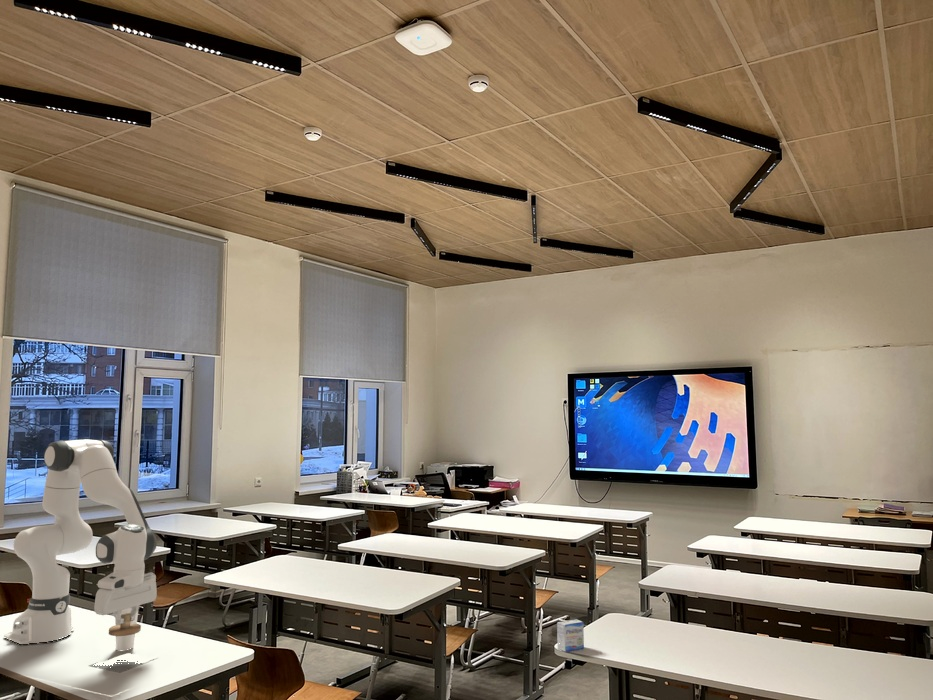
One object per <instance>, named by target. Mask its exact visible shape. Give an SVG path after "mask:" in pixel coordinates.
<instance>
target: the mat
mask: <svg viewBox="0 0 933 700" xmlns="http://www.w3.org/2000/svg"><path fill="white" fill-rule="evenodd" d="M117 661H120V660H117ZM121 661H123V660H121ZM124 661H126V660H124ZM137 662H138V661H137ZM96 663H97V662H96ZM96 663H92V664H89V665H88V667H92V668H97V667H99V668H97V669H102V670H105V669H106V670H105V671H111V672H115V673H123V672H126V671H128V670H131V669H135V668H136V667H139V666H142V665H143V664H142V663H140V664H138V663H136V664H135V662H128V661H127V662H116V663H117V664H115V663H114V664H113V666H112V665H110V666H109V665H108V666H106V665H105V666H103V665H102V666H100V665H99V666H98V665H97V666H95V665H94V664H96ZM118 663H120V664H118ZM121 663H122V664H121ZM128 663H129V664H128ZM103 664H104V663H103ZM93 665H94V666H93ZM110 667H111V668H110Z"/></svg>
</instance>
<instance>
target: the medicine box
mask: <svg viewBox="0 0 933 700" xmlns="http://www.w3.org/2000/svg"><path fill="white" fill-rule="evenodd" d="M584 627H585V626H584V621H582V620H579V619H577V618H576V619H575V618H574V619H570V620H564V621H558V622H556V629H557V630H556V632H557V633H556V636H557V649H558V650H561V651H562V652H565V653H567V652H573V651H577V650H584V648H585V637H584V635H585V634H584ZM559 643H560V644H559Z"/></svg>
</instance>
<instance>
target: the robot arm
mask: <svg viewBox="0 0 933 700" xmlns="http://www.w3.org/2000/svg"><path fill="white" fill-rule="evenodd" d="M114 457H115V449H114V447H113V445H112V443H111V442H110V441H107V440H103V439H87V438H86V439H84V438H83V439H82V438H81V439H80V438H79V439H72V440H69V439H68V440H63V439H62V440H56V441H53V442H50V443H49V444H48V446H47V447H46V448H45V451H44V453H43V462H44V465H45V467H46V468H47V469H48V471H47V474H46V478H45V483H44V490H43V497H42V502H41V503H42V504H41V506H42V508H43V510H44V511H45V512H46V513H48V514H49V515H52V516H54V523H53V524H48V525H47V524H46V525H38V526H33V527H29V528H27V529H24V530H21V531H19V532H18V534H17V535H16V536H15V538H14V540H13V550H14V553H15V554H16V556H17V557H18V558H20V559H21V560H23V561H24V562H26V564H27V565H28V567H29V569H30V571H31V575H32V595H31V598H27V602H26V603H28V605H27V609H26V610H24V611H23V612H22V613H21V614H20V615H18V616H17V617H16V618H15V619H14V620H13V625H12V631H10V632H8V633H6V634H4V635H3V638H4V637H6V638H8V639H11V640H13V641H15V642H17V643H19V644H28V645H30V644H29V643H37V644H40V643H39V642H47V643H49V642H48V641H52V640H57V639H59V638H62V637H65V636H67V635H69V634H70V633H71V634H72V632H71V630H72V629H73V628H74V626H73V627H72V609H71V607H70V606H69V605H70V603H71V602H70V601H71V593H69V592H70V577H71V573H70V570H68V568H66V567H64V566H62V565H59V564H58V562H57V560H56V559H57V556H61V555H67V554H74V553H76V552H80V551H81V550H84V549H87V548H88V547H89V546H90V545H91V542H92V540H93V536H94V535H93V529H92V528H91V526H90V525H89V524H88V523H87V522H85V521H84V519H83V518H82V516H81V515H80V511H79V510H80V509H79V501H80V491H81V487H82V490H83V493H84V495H85V496H86V497H87V498H88V499H89V500H91V501H93V502H95V503H98V504H102V505H103V504H104V505H108V506H110V507H114V508H116V509H117V510H119V511H120V512H121V513H122V514H123V515H124V519H125V520H126V524H123V525H120V526H119V528H118V529H117V530H116V531H113V532H110V533H107V534H104V535H102V536H101V537H100V538H99V539H98V541H97V542H96V545H95V557H96V558H97V560H98V561H99V562H100V563H101V564H104V565H105V564H107V565H110V564H111V565H112V564H114V567H113V572H111V573H110V574H108V575H105V576H104V577H103V578H101V579H99V580H98V582H97V587H98V588H99V589H97V592H96V594H95V599H94V607H93V609H94V613H95V614H96V615H99V616H106V615H109V614H112V615H113V617H114V618H116V625H120V624H123V623H124V622H123V621H124V618H121V616H120V614H121V613H122V610H124V609H127V608H131V609H132V610H131V613H130V614H131V620H130V621H134V620H135V615H136V613H137V611H138V612H139V610H140V606H141V605H145V604H149V603H151V602H154V601H156V599H157V593H158V591H157V589H158V588H157V582H156V581H157V580H156V579H157V576H156V574H155V573H153V572H152V571H151V572H147V573H145V568H146V567H145V565H146V564H145V561H146V560H148V559H149V558H151V556H152V555H153V554H154V552H155V550H156V549H157V545H158V541H157V537H156V535H155V533H154V532H153V530H152V529H151V527H150V525H149V524H148V521H147V520H146V517H145V515H144V513H143V510H142V508H141V506H140V504H139V501H138V499H137V496H135V493H134V491H133V490H132V489H131V488H130V487H128V486H127V485H126V484H125V482H123V481H122V480H121V478H120V476H119V473H118V470H117V466H116V463H115V461H114ZM57 641H58V640H57ZM17 643H16V644H17ZM19 644H18V645H19Z"/></svg>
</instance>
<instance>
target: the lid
mask: <svg viewBox="0 0 933 700" xmlns="http://www.w3.org/2000/svg"><path fill="white" fill-rule="evenodd" d="M121 618H124V621H123V622H124V623H123V624H120V625H112V626H111V627H109V628H108V636H109V635H110V636H114V637H116V636H127V635H132V634H135V635H136V634H138V633H140V631H141V629H142V628H141V627H142V625H141V624H140V623H137V624H135V623H130V620H131V614H130V613H124V614H121Z"/></svg>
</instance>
